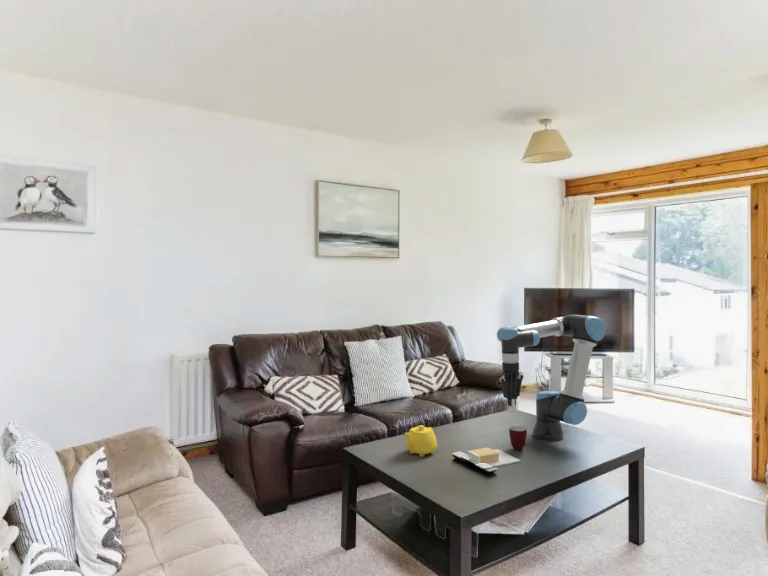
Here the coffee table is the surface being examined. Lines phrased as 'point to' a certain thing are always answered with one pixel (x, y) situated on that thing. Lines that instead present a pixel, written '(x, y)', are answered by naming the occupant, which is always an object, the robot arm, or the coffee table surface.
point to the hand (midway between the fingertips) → (512, 412)
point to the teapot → (421, 440)
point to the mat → (504, 459)
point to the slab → (484, 455)
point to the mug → (518, 437)
